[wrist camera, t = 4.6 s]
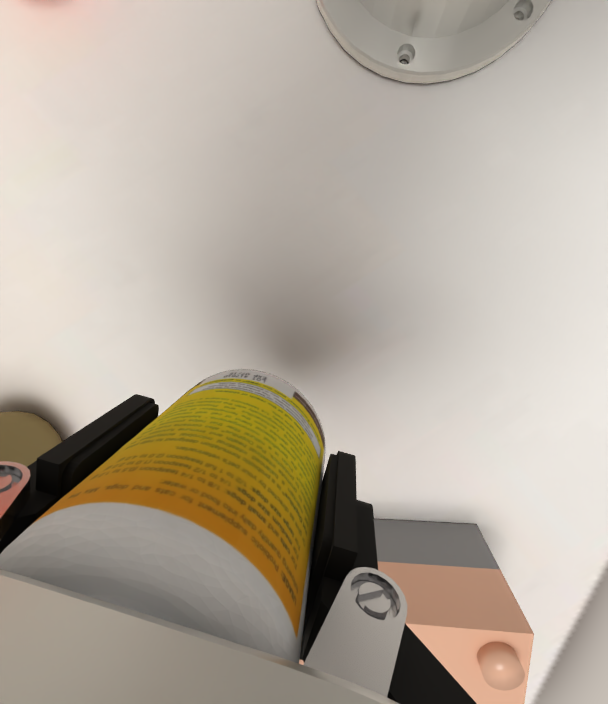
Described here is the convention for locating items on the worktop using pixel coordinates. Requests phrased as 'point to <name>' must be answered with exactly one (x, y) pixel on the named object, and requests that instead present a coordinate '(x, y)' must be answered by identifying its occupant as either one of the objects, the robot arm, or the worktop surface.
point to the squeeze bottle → (25, 437)
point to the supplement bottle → (198, 516)
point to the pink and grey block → (459, 605)
